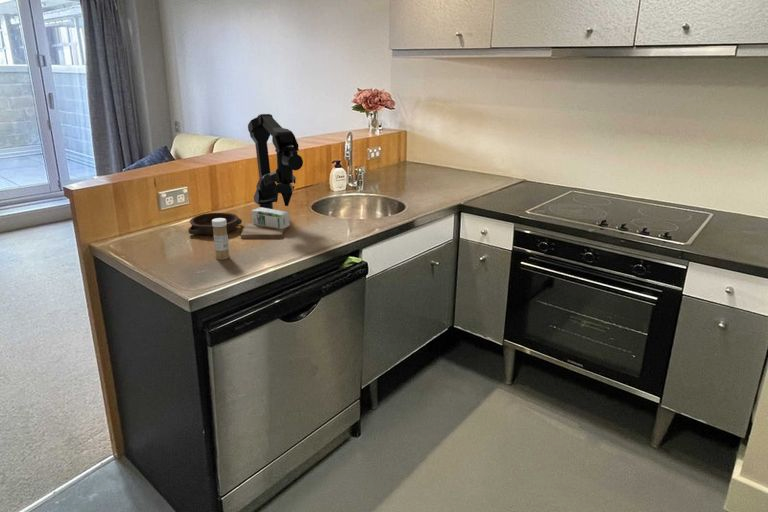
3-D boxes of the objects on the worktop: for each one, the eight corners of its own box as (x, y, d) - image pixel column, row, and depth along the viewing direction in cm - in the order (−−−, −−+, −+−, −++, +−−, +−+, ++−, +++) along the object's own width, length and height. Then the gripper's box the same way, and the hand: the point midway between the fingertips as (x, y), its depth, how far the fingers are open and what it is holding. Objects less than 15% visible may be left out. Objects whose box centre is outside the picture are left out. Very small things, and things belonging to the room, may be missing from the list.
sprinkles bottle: (225, 254, 179) (221, 216, 175) (232, 257, 177) (229, 219, 172) (212, 257, 176) (209, 219, 172) (220, 261, 173) (216, 222, 169)
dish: (177, 231, 202) (176, 219, 200) (228, 220, 217) (227, 208, 215) (201, 242, 191) (199, 229, 189) (252, 229, 206) (251, 217, 204)
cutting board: (248, 225, 210) (248, 221, 210) (286, 225, 211) (285, 221, 211) (241, 238, 195) (240, 234, 195) (281, 238, 196) (281, 234, 196)
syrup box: (281, 229, 201) (251, 224, 207) (290, 225, 206) (260, 220, 212) (280, 215, 199) (250, 210, 205) (289, 211, 204) (259, 206, 210)
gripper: (266, 160, 204) (268, 199, 209) (259, 170, 186) (262, 212, 192) (295, 160, 205) (296, 199, 210) (291, 170, 187) (292, 212, 193)
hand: (286, 205), depth 201 cm, fingers closed
